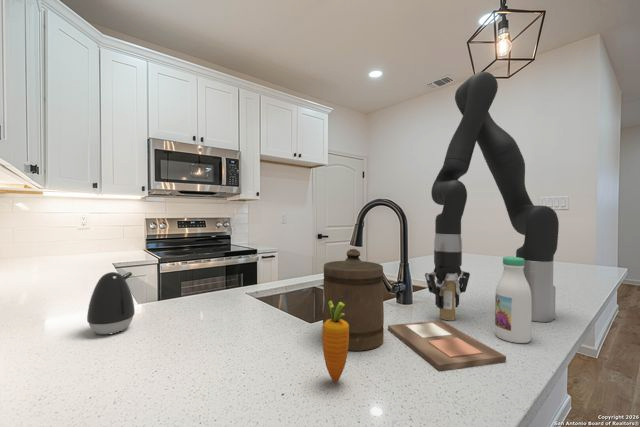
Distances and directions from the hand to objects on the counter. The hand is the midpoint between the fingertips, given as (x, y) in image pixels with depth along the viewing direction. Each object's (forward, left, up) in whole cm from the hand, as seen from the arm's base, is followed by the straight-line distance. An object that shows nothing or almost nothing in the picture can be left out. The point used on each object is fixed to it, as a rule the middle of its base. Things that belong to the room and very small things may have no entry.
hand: (447, 307), depth 92 cm
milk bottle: (-7, +16, -4) cm, 18 cm away
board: (+13, +15, -3) cm, 20 cm away
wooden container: (+32, +7, -4) cm, 33 cm away
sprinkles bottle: (0, 0, -3) cm, 3 cm away
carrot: (+42, +25, -3) cm, 49 cm away
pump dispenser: (+91, -12, -4) cm, 92 cm away
